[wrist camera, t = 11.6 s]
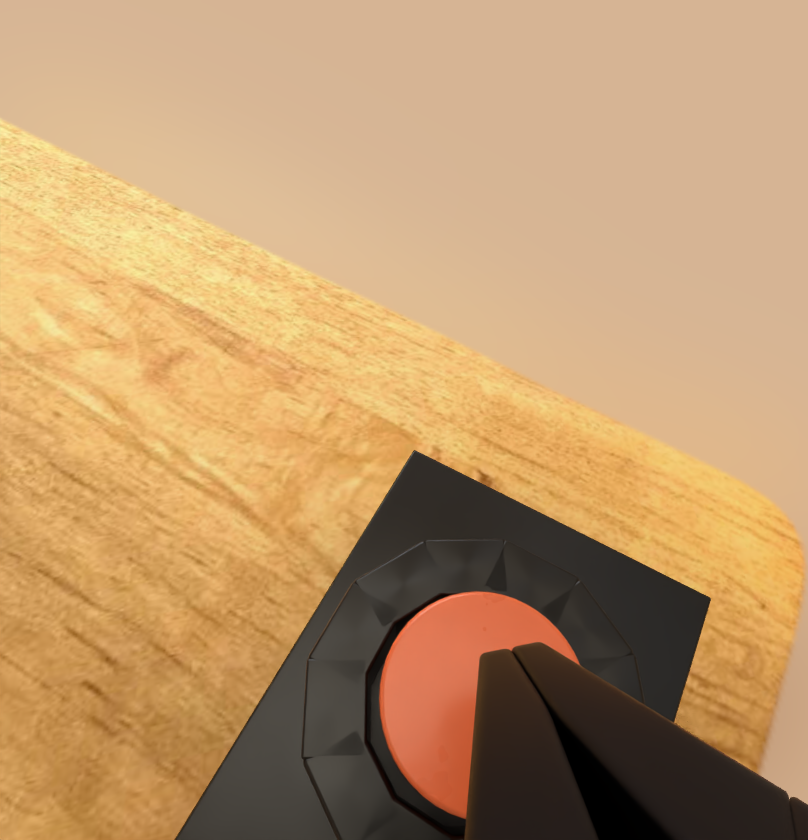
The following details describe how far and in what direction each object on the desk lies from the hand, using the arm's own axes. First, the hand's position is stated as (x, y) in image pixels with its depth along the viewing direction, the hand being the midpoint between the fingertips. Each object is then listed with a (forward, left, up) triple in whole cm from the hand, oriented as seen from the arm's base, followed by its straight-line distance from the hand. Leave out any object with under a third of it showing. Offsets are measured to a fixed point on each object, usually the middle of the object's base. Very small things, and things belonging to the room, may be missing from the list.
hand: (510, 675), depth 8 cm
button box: (0, 0, -12) cm, 12 cm away
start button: (0, 0, -4) cm, 4 cm away
